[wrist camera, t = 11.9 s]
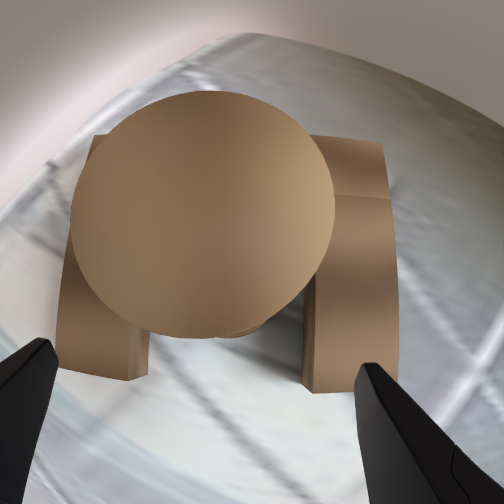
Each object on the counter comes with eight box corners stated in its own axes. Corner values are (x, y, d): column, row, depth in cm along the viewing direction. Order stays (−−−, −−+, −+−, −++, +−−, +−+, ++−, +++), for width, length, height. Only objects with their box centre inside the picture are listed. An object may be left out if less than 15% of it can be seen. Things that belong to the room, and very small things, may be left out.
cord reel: (194, 351, 19) (101, 371, 6) (164, 254, 20) (63, 138, 8) (294, 317, 19) (378, 278, 7) (259, 222, 21) (275, 70, 8)
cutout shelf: (373, 381, 18) (397, 387, 15) (82, 364, 18) (54, 366, 15) (365, 169, 22) (381, 143, 19) (111, 161, 22) (94, 135, 19)
